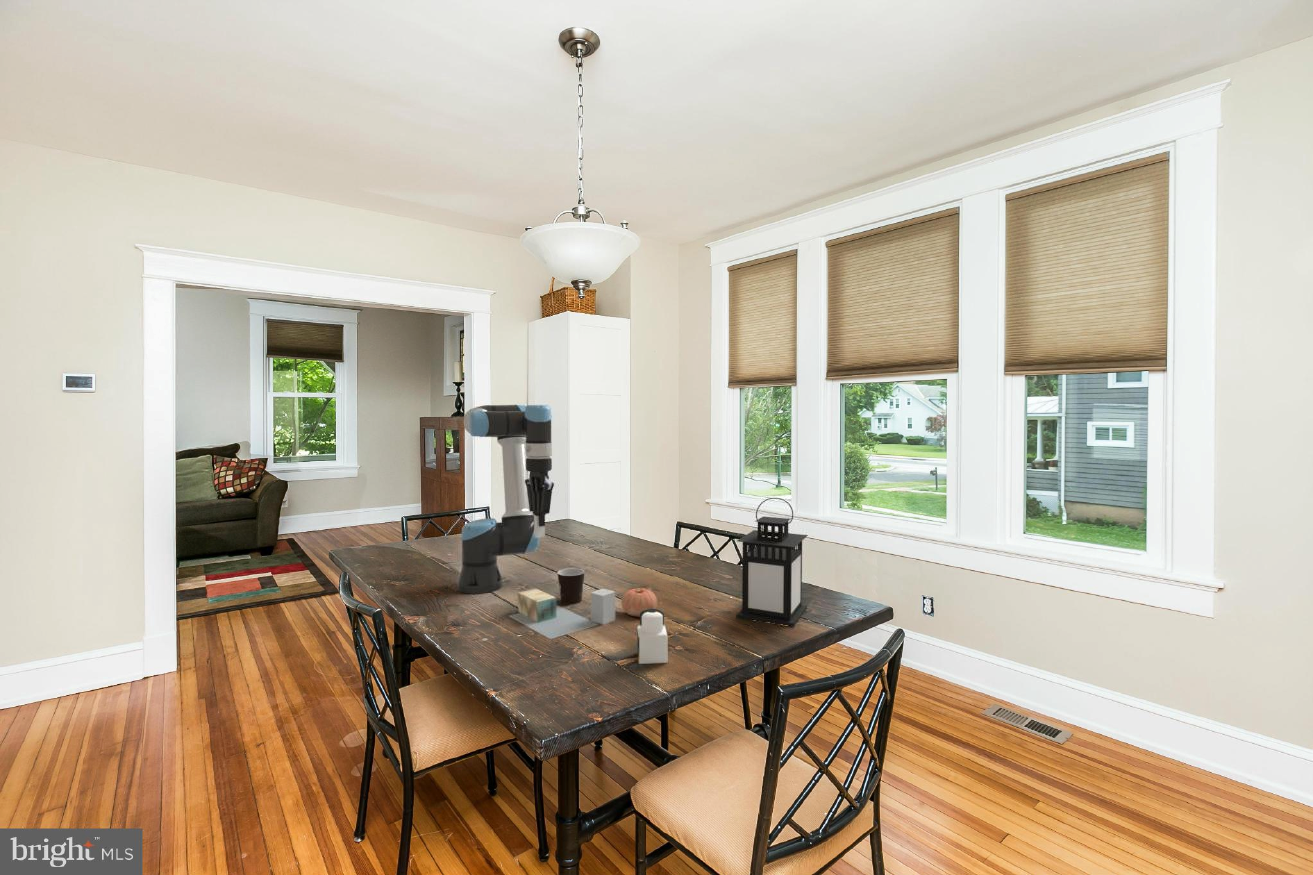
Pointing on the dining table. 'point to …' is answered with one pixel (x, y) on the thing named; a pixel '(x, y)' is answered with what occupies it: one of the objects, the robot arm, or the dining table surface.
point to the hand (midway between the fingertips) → (539, 536)
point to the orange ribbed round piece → (638, 601)
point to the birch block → (537, 605)
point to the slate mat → (556, 623)
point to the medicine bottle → (652, 637)
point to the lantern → (772, 573)
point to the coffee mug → (571, 585)
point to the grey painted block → (603, 606)
